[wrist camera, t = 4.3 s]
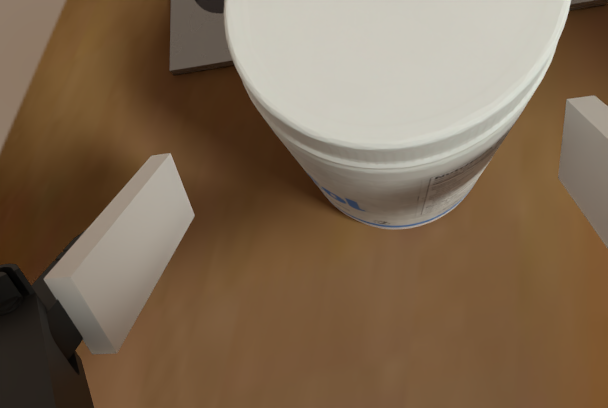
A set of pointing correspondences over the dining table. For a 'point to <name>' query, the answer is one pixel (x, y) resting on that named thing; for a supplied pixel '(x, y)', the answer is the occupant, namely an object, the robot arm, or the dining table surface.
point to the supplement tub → (393, 92)
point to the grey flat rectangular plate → (222, 34)
